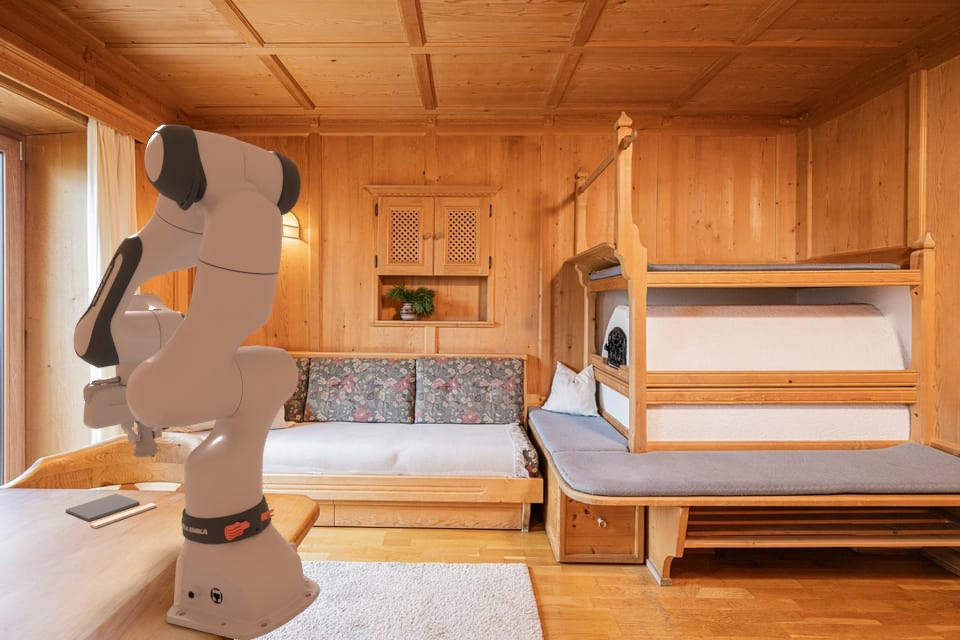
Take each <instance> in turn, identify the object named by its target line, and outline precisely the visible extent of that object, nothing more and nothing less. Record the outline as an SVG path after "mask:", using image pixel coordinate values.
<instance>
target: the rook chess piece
mask: <svg viewBox="0 0 960 640" xmlns="http://www.w3.org/2000/svg"><path fill="white" fill-rule="evenodd" d="M134 424H136V425H137V428H136V430H137V434H140V435H141V437H140V439H141V442H139V443H135V444H134V446H133V448H132V451H133V452H132V455H133V456H134V457H135V458H148V457H152V456H155V455H157V453H158V452H159V449H158V447H159V445H158V443H156V440H155V439H154V438H153V434H152V429H153V428H151V427H147V426H145V425H144V424H142V423H141V422H139V421H134Z"/></svg>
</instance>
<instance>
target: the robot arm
mask: <svg viewBox="0 0 960 640" xmlns="http://www.w3.org/2000/svg"><path fill="white" fill-rule="evenodd" d="M144 168H145V172H146V178H147V180H148V181H149V183H150V184H151V185H152V187H153V188H154V189H155V190H156V191H157V192H158V197H157V200H156V204H155V207H154V211H153V213H152V215H151V217H150V219H149V220H148V221H147V223H146V224H145V225H144V226H142V228H141V229H139V231H137V232H136V233H135V234H133V235H131V236H128V237H125V238H124V239H123V240H122V241H121V243H120V245H119V246H118V247H117V249H116V251H115V253H114V254H113V256H112V258H111V260H110V262H109V264H108V265H107V269H106V270H105V272H104V275H103V277H102V279H101V280H100V283H99V285H98V287H97V289H96V292H95V294H94V296H93V298H92V299H91V301H90V304H89V306H88V307H87V309H86V310H85V312H84V313H83V315H81V317H80V318H79V320H78V321H77V323H76V326H75V328H74V331H73V332H74V333H73V348H74V351H75V354H76V356H77V357H78V358H80V359H81V360H82V361H84V362H85V363H87V364H89V365H91V366H93V367H95V368H98V369H103V368H107V367H114V366H115V376H111V377H106V378H97V379H92V380H91V382H89V383H86V385H85V386H84V388H83V390H82V391H83V400H84V408H83V424H84V425H85V426H86V427H88V428H89V429H94V430H99V429H104V428H109V427H113V426H119V425H120V428H121V429H122V430H123V432H124V433H125V434H126V435H127V441H128V444H130V445H133V444H134V445H135V444H136V443H139V442H141V439H140V437H141V435H140V434H138V432H137V433H136V432H135V431H134V429H133V428H134V427H135V421H139V422H141V423H142V424H144V425H145V426H147V427H151V428H152V434H153V438H154V440H155V439H160V438H162V437H163V429H164V428H185V427H189V426H194V425H200V424H204V423H208V422H212V421H215V423H214V425H213V427H212V429H211V431H210V432H209V435H208V436H207V437H206V438H205V439H204V440H203V441H202V442H201V443H200V444H198V445H197V446H196V447H195V448H194V449H193V450H191V452H190V453H189V454H188V456H187V457H186V460H185V463H184V466H183V479H184V480H183V482H184V509H183V510H182V513H181V514H182V516H181V527H182V529H181V530H182V536H183V537H184V541H183V545H182V547H181V550H180V552H179V554H178V556H177V560H176V561H175V562H176V564H175V576H174V577H175V578H174V593H173V595H174V596H173V604H172V606H171V607H169V609H168V611H167V612H166V618H165V619H166V623H169V624H172V625H176V626H180V627H185V628H187V629H188V628H189V629H191V630H192V629H193V630H196V631H200V632H204V633H208V634H213V635H216V636H220V637H224V638H228V639H233V640H255V639H257V638H260V637H263V636H265V635H267V634H269V633H271V632H274V631H276V630H277V629H279V628H281V627H283V626H285V625H286V624H287V623H289V622H291V621H292V620H294V619H295V618H297V617H298V616H299V615H300V614H302V613H304V611H306V609H308V608H309V607H310V606H311V605H312V604H313V603H314V602H315V601H317V599H318V597H319V595H320V593H321V588H320V584H318V583H317V582H316V581H314V580H313V579H311V578H310V577H308V576H306V575H305V574H304V570H303V563H302V560H301V559H302V558H301V556H300V555H299V553H298V547H297V545H296V543H295V542H293V541H290V542H288V541H287V540H286V539H285V537H284V536H283V535H282V534H281V533H280V531H278V529H277V528H276V527H275V526H274V525H273V523H272V517H274V516H275V514H274V513H273V512H274V511H275V508H272V509H269V504H268V503H267V500H266V496H265V495H264V493H263V491H264V490H263V468H264V466H263V465H264V464H263V463H264V451H265V446H266V442H267V439H268V435H269V433H270V430H271V427H272V425H273V423H274V421H275V418H276V417H277V415H278V413H279V412H280V410H281V409H282V407H283V406H284V404H286V402H288V401H289V400H290V398H291V397H292V396H293V395H294V394H295V392H296V390H297V387H298V383H299V368H298V366H297V365H298V364H297V363H296V361H295V358H293V356H292V355H291V354H290V353H289V352H288V351H287V350H286V349H284V348H280V347H276V346H275V347H274V346H268V345H267V346H266V345H254V344H253V345H247V346H246V345H245V346H244V345H243V346H241V345H242V344H243V343H244V342H245V340H247V338H248V337H250V336H251V335H252V334H254V333H255V332H257V331H258V330H260V329H261V328H262V327H264V325H266V324H267V323H268V321H269V320H270V318H271V316H272V314H273V307H274V301H275V296H276V292H277V291H276V290H277V284H278V277H279V273H280V265H281V257H282V248H283V246H282V245H283V244H282V242H283V225H282V223H283V222H282V216H284V215H287V214H288V213H289V212H291V211H292V209H294V207H295V206H296V205H297V203H298V200H299V199H300V195H301V190H302V188H301V187H302V181H301V179H302V178H301V176H300V175H301V174H300V172H299V170H298V169H299V168H298V166H297V165H296V164H295V162H294V161H293V160H292V159H290V158H289V157H287V156H285V155H283V154H281V153H280V152H278V151H274V150H271V151H269V150H267V149H264V148H261V147H259V146H257V145H254V144H252V143H248V142H246V141H242V140H238V139H237V138H236V137H233V136H228V135H226V134H220V133H217V132H211V131H205V130H199V129H192V127H190V126H188V125H180V124H162V125H160V126H159V127H157V129H155V130H154V131H153V132H152V134H151V135H150V137H149V138H148V143H147V145H146V147H145V150H144ZM195 267H196V272H195V278H194V282H193V288H192V293H191V298H190V303H189V306H188V308H187V311H186V313H185V314H183V313H182V312H181V311H176V310H173V309H170V307H167V305H165V304H164V301H163V298H162V297H161V296H160V295H157V294H154V293H143V292H141V293H140V292H139V293H136V291H137V290H138V288H140V286H141V285H143V284H145V283H146V282H147V281H149V280H152V279H154V278H156V277H159V276H163V275H166V274H170V273H173V272H177V271H178V272H179V271H182V270H183V271H184V270H188V269H192V268H195ZM272 513H273V514H272Z"/></svg>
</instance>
